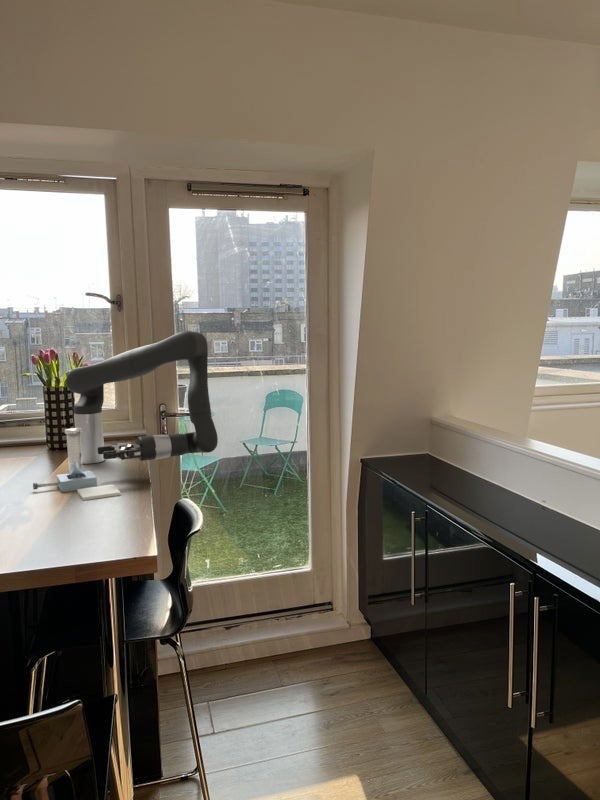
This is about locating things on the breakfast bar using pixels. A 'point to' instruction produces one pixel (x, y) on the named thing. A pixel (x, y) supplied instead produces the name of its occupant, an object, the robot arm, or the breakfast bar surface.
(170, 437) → the robot arm
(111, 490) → the felt pad
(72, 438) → the steel pin
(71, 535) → the breakfast bar surface
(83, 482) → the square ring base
